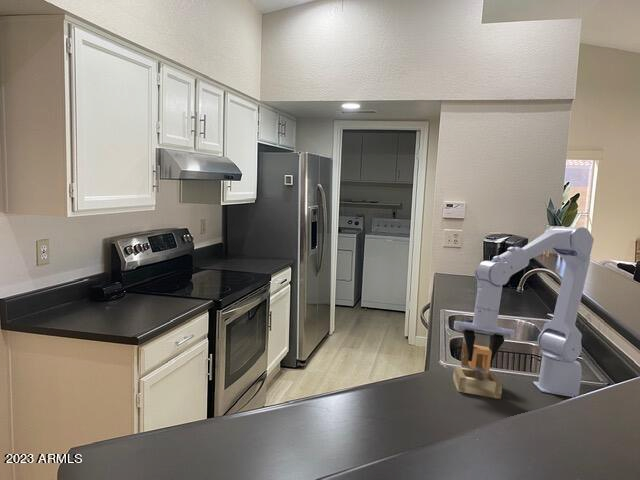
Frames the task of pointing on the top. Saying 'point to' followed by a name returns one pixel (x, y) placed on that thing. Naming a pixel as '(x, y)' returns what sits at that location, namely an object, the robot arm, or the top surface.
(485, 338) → the coffee cup
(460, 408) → the top surface
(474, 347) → the orange u-channel
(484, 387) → the shelf block
